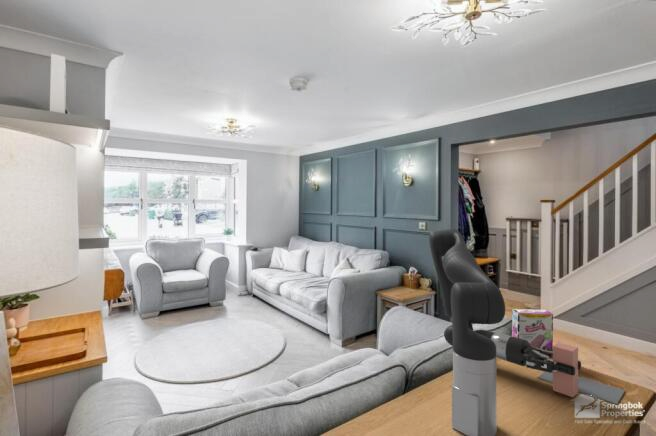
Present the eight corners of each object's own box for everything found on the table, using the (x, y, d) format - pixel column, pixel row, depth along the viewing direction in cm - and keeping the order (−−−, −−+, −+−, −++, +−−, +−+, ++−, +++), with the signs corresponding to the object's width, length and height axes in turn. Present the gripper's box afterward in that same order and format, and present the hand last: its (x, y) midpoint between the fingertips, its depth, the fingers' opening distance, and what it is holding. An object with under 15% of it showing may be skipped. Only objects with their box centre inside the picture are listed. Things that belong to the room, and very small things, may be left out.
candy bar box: (518, 362, 109) (517, 312, 109) (511, 355, 114) (511, 308, 114) (554, 363, 108) (553, 313, 108) (545, 356, 113) (545, 309, 113)
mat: (616, 404, 84) (616, 403, 84) (537, 378, 98) (537, 377, 98) (625, 391, 90) (625, 390, 90) (549, 368, 104) (549, 367, 104)
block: (573, 397, 86) (572, 351, 86) (553, 390, 89) (552, 346, 89) (578, 391, 89) (578, 347, 89) (558, 384, 92) (558, 342, 92)
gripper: (498, 342, 96) (569, 362, 82) (519, 331, 105) (585, 347, 91) (499, 367, 96) (569, 391, 82) (519, 354, 105) (585, 374, 91)
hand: (577, 368), depth 87 cm, fingers closed on block, 4 cm apart
